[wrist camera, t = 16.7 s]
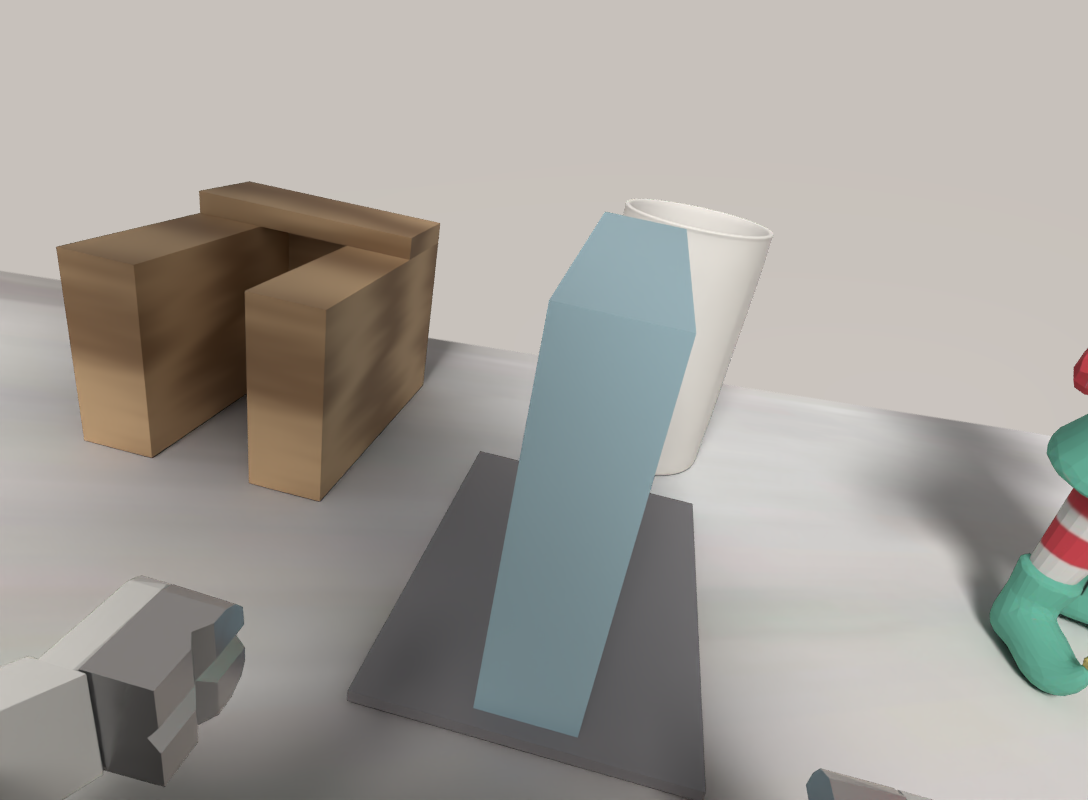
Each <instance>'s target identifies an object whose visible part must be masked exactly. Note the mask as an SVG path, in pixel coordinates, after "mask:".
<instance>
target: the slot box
mask: <svg viewBox="0 0 1088 800" xmlns="http://www.w3.org/2000/svg"><path fill="white" fill-rule="evenodd" d="M199 196H200V213H198V214H194V215H189V216H185V217H181V218H177V219H173V220H168V221H164V222H160V223H156V224H151V225H147V226H143V227H138V228H134V229H130V230H126V231H122V232H117V233H113V234H109V235H104V236H101V237H96V238H92V239H88V240H83V241H79V242H75V243H70V244H66V245H62V246H58V247H56V249H57V255H58V262H59V269H60V276H61V283H62V290H63V297H64V304H65V311H66V318H67V324H68V331H69V338H70V345H71V352H72V359H73V366H74V373H75V379H76V386H77V393H78V400H79V407H80V414H81V421H82V427H83V434H84V440H86V441H89V442H93V443H97V444H101V445H105V446H109V447H112V448H116V449H120V450H124V451H128V452H132V453H135V454H139V455H143V456H147V457H151V458H152V457H154V456H155V455H157V454H158V453H160V452H161V451H163V450H164V449H166V448H167V447H169V446H170V445H172V444H173V443H174V442H176V441H177V440H179V439H180V438H182V437H183V436H185V435H186V434H188V433H189V432H191V431H192V430H193V429H195V428H196V427H198V426H199V425H201V424H202V423H204V422H205V421H207V420H208V419H210V418H211V417H213V416H214V415H215V414H217V413H218V412H220V411H221V410H223V409H224V408H226V407H227V406H229V405H230V404H232V403H233V402H235V401H236V400H237V399H239V398H240V397H242V396H243V395H245V394H246V393H247V419H248V465H249V483H251V484H254V485H258V486H262V487H266V488H270V489H274V490H278V491H281V492H285V493H289V494H293V495H297V496H301V497H304V498H308V499H312V500H316V501H321V500H322V498H323V497H324V496H325V495H326V494H327V493H328V492H329V490H330V489H331V488H332V487H333V486H334V485H335V484H336V483H337V481H338V480H339V479H340V478H341V477H342V476H343V475H344V474H345V472H346V471H347V470H348V469H349V468H350V467H351V466H352V465H353V463H354V462H355V461H356V460H357V459H358V458H359V457H360V455H361V454H362V453H363V452H364V451H365V450H366V449H367V448H368V446H369V445H370V444H371V443H372V442H373V441H374V440H375V439H376V437H377V436H378V435H379V434H380V433H381V432H382V431H383V430H384V428H385V427H386V426H387V425H388V424H389V423H390V422H391V420H392V419H393V418H394V417H395V416H396V415H397V414H398V413H399V411H400V410H401V409H402V408H403V407H404V406H405V405H406V404H407V402H408V401H409V400H410V399H411V398H412V397H413V396H414V395H415V393H416V392H417V391H418V390H419V389H420V388H421V387H422V385H423V380H424V371H425V362H426V352H427V343H428V333H429V323H430V314H431V305H432V295H433V286H434V277H435V267H436V258H437V248H438V239H439V229H440V223H437V222H432V221H428V220H423V219H419V218H414V217H409V216H405V215H400V214H396V213H391V212H387V211H382V210H378V209H373V208H369V207H364V206H359V205H355V204H350V203H346V202H341V201H336V200H332V199H327V198H323V197H318V196H314V195H309V194H305V193H300V192H295V191H291V190H286V189H282V188H277V187H273V186H267V185H263V184H259V183H254V182H250V181H249V182H245V183H239V184H233V185H228V186H223V187H218V188H212V189H207V190H201V191H199Z"/></svg>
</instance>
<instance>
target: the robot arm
mask: <svg viewBox="0 0 1088 800" xmlns="http://www.w3.org/2000/svg"><path fill="white" fill-rule="evenodd" d="M243 625H244V616H243V607H241V606H239V605H237V604H234V603H231V602H227V601H224V600H221V599H218V598H215V597H211V596H208V595H205V594H202V593H199V592H196V591H192V590H189V589H186V588H183V587H180V586H176V585H172V584H169V583H166V582H162V581H159V580H156V579H152V578H149V577H146V576H142V575H141V576H138V577H136V578H133V579H131V580H129V581H127V582H126V583H125V584H124V585H122V586H121V587H120V588H119V589H118V590H117V591H116V592H114V593H113V594H112V595H111V596H110V597H109V598H107V599H106V600H105V601H104V602H103V603H102V604H101V605H99V606H98V607H97V608H96V609H95V610H94V611H93V612H91V613H90V614H89V615H88V616H87V617H86V618H85V619H83V620H82V621H81V622H80V623H79V624H78V625H77V626H75V627H74V628H73V629H72V630H71V631H70V632H69V633H67V634H66V635H65V636H64V637H63V638H62V639H60V640H59V641H58V642H57V643H56V644H55V645H54V646H52V647H51V648H50V649H49V650H48V651H47V652H46V653H44V654H43V655H42V656H41V657H40V658H39V659H37V658H33V657H29V656H27V657H24V658H22V659H19V660H16V661H14V662H11V663H9V664H6V665H3V666H1V667H0V800H63V799H65V798H66V797H68V796H69V795H71V794H73V793H74V792H76V791H78V790H79V789H81V788H82V787H84V786H86V785H87V784H89V783H91V782H92V781H94V780H95V779H97V778H99V777H100V776H102V775H103V773H104V772H103V770H105V771H108V772H112V773H116V774H119V775H123V776H127V777H130V778H134V779H137V780H141V781H145V782H148V783H152V784H155V785H159V786H163V787H165V786H166V785H167V783H168V782H169V781H170V779H171V778H172V777H173V775H174V774H175V773H176V771H177V770H178V769H179V767H180V766H181V765H182V763H183V762H184V761H185V759H186V758H187V757H188V755H189V754H190V753H191V751H192V750H193V749H194V747H195V746H196V745H197V743H198V725H199V724H201V723H203V722H205V721H207V720H209V719H211V718H213V717H215V716H217V715H219V714H220V712H221V711H222V709H223V708H224V707H225V705H226V704H227V702H228V701H229V700H230V698H231V697H232V695H233V693H234V690H235V688H236V686H237V684H238V682H239V680H240V678H241V675H242V671H243V666H244V662H245V647H244V646H243V644H242V643H241V641H240V640H239V639H238V637H237V636H236V634H237V633H238V631H239V630H240V629H241V628H242V626H243ZM806 788H807V793H808V799H809V800H932V799H928V798H925V797H921V796H918V795H914V794H911V793H907V792H904V791H900V790H895V789H894V788H892V787H888V786H884V785H880V784H877V783H873V782H869V781H866V780H862V779H858V778H854V777H851V776H847V775H843V774H840V773H836V772H832V771H828V770H825V769H819V770H817V771H815V772H814V773H813V774H812V776H811V777H810V779H809V781H808V782H807V784H806Z"/></svg>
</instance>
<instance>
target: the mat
mask: <svg viewBox="0 0 1088 800" xmlns="http://www.w3.org/2000/svg"><path fill="white" fill-rule="evenodd" d="M518 465H519V461H518V460H514V459H510V458H506V457H502V456H498V455H494V454H490V453H485V452H481V451H480V453H479V454H478V456H477V458H476V460H475V462H474V463H473V465H472V467H471V469H470V471H469V473H468V474H467V476H466V478H465V480H464V482H463V483H462V485H461V487H460V489H459V491H458V492H457V494H456V496H455V498H454V500H453V501H452V503H451V505H450V507H449V509H448V510H447V512H446V514H445V516H444V518H443V519H442V521H441V523H440V525H439V527H438V528H437V530H436V532H435V534H434V536H433V537H432V539H431V541H430V543H429V545H428V547H427V548H426V550H425V552H424V554H423V556H422V557H421V559H420V561H419V563H418V565H417V566H416V568H415V570H414V572H413V574H412V575H411V577H410V579H409V581H408V583H407V584H406V586H405V588H404V590H403V592H402V593H401V595H400V597H399V599H398V601H397V602H396V604H395V606H394V608H393V610H392V611H391V613H390V615H389V617H388V619H387V621H386V622H385V624H384V626H383V628H382V630H381V631H380V633H379V635H378V637H377V639H376V640H375V642H374V644H373V646H372V648H371V649H370V651H369V653H368V655H367V657H366V658H365V660H364V662H363V664H362V666H361V667H360V669H359V671H358V673H357V675H356V676H355V678H354V680H353V682H352V684H351V685H350V687H349V689H348V693H347V701H350V702H354V703H357V704H361V705H364V706H368V707H371V708H375V709H378V710H382V711H385V712H389V713H392V714H396V715H399V716H403V717H406V718H410V719H413V720H417V721H420V722H424V723H427V724H431V725H434V726H438V727H441V728H444V729H448V730H451V731H455V732H458V733H462V734H465V735H469V736H472V737H476V738H479V739H483V740H486V741H490V742H493V743H497V744H500V745H504V746H507V747H511V748H514V749H518V750H521V751H525V752H528V753H532V754H535V755H539V756H542V757H546V758H549V759H553V760H556V761H560V762H563V763H567V764H570V765H574V766H577V767H581V768H584V769H588V770H591V771H595V772H598V773H601V774H605V775H608V776H612V777H615V778H619V779H622V780H626V781H629V782H633V783H636V784H640V785H643V786H647V787H650V788H654V789H657V790H661V791H664V792H668V793H671V794H675V795H678V796H682V797H685V798H689V799H692V800H703V798H704V795H705V793H706V788H705V766H704V745H703V723H702V701H701V679H700V657H699V636H698V614H697V592H696V570H695V548H694V527H693V505H692V504H691V503H687V502H683V501H679V500H675V499H671V498H667V497H663V496H659V495H655V494H651V493H649V496H648V500H647V503H646V507H645V510H644V513H643V517H642V520H641V524H640V527H639V531H638V534H637V537H636V541H635V544H634V548H633V551H632V554H631V558H630V561H629V565H628V568H627V571H626V575H625V578H624V582H623V585H622V588H621V592H620V595H619V599H618V602H617V605H616V609H615V612H614V616H613V619H612V622H611V626H610V629H609V633H608V636H607V640H606V643H605V646H604V650H603V653H602V657H601V660H600V663H599V667H598V670H597V674H596V677H595V680H594V684H593V687H592V691H591V694H590V697H589V701H588V704H587V708H586V711H585V714H584V718H583V721H582V725H581V728H580V731H579V735H578V738H577V737H574V736H570V735H567V734H563V733H560V732H556V731H552V730H549V729H545V728H542V727H538V726H535V725H531V724H528V723H524V722H521V721H517V720H514V719H510V718H507V717H503V716H500V715H496V714H493V713H489V712H485V711H482V710H478V709H475V708H473V707H474V701H475V696H476V691H477V685H478V680H479V674H480V669H481V664H482V658H483V653H484V648H485V642H486V637H487V631H488V626H489V621H490V615H491V610H492V605H493V599H494V594H495V588H496V583H497V578H498V572H499V567H500V562H501V556H502V551H503V546H504V540H505V535H506V529H507V524H508V519H509V513H510V508H511V503H512V497H513V492H514V486H515V481H516V476H517V470H518Z"/></svg>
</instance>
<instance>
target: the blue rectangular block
mask: <svg viewBox="0 0 1088 800" xmlns="http://www.w3.org/2000/svg"><path fill="white" fill-rule="evenodd" d="M695 336H696V324H695V314H694V303H693V292H692V281H691V271H690V260H689V249H688V239H687V229H684V228H680V227H675V226H670V225H665V224H661V223H656V222H651V221H647V220H642V219H637V218H633V217H628V216H623V215H618V214H613V213H609V212H605V213H604V214H603V216H602V218H601V219H600V221H599V222H598V224H597V225H596V227H595V229H594V230H593V232H592V233H591V235H590V236H589V238H588V240H587V241H586V243H585V244H584V246H583V248H582V249H581V251H580V252H579V254H578V255H577V257H576V259H575V260H574V262H573V263H572V265H571V267H570V268H569V270H568V271H567V273H566V275H565V276H564V278H563V279H562V281H561V282H560V284H559V285H558V287H557V289H556V290H555V292H554V294H553V295H552V297H551V298H550V300H549V304H548V310H547V315H546V320H545V325H544V331H543V337H542V341H541V347H540V352H539V358H538V363H537V368H536V374H535V379H534V384H533V390H532V395H531V401H530V406H529V411H528V417H527V422H526V427H525V433H524V438H523V444H522V449H521V454H520V460H519V465H518V470H517V476H516V481H515V486H514V492H513V497H512V503H511V508H510V513H509V519H508V524H507V529H506V535H505V540H504V546H503V551H502V556H501V562H500V567H499V572H498V578H497V583H496V588H495V594H494V599H493V605H492V610H491V615H490V621H489V626H488V631H487V637H486V642H485V648H484V653H483V658H482V664H481V669H480V674H479V680H478V685H477V691H476V696H475V701H474V707H473V708H475V709H478V710H482V711H485V712H489V713H493V714H496V715H500V716H503V717H507V718H510V719H514V720H517V721H521V722H524V723H528V724H531V725H535V726H538V727H542V728H545V729H549V730H552V731H556V732H560V733H563V734H567V735H570V736H574V737H577V738H578V735H579V731H580V728H581V725H582V721H583V718H584V714H585V711H586V708H587V704H588V701H589V697H590V694H591V691H592V687H593V684H594V680H595V677H596V674H597V670H598V667H599V663H600V660H601V657H602V653H603V650H604V646H605V643H606V640H607V636H608V633H609V629H610V626H611V622H612V619H613V616H614V612H615V609H616V605H617V602H618V599H619V595H620V592H621V588H622V585H623V582H624V578H625V575H626V571H627V568H628V565H629V561H630V558H631V554H632V551H633V548H634V544H635V541H636V537H637V534H638V531H639V527H640V524H641V520H642V517H643V513H644V510H645V507H646V503H647V500H648V496H649V493H650V490H651V486H652V483H653V479H654V476H655V473H656V469H657V466H658V462H659V459H660V456H661V452H662V449H663V445H664V442H665V439H666V435H667V432H668V428H669V425H670V422H671V418H672V415H673V411H674V408H675V404H676V401H677V398H678V394H679V391H680V387H681V384H682V381H683V377H684V374H685V370H686V367H687V364H688V360H689V357H690V353H691V350H692V347H693V343H694V340H695Z"/></svg>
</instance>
